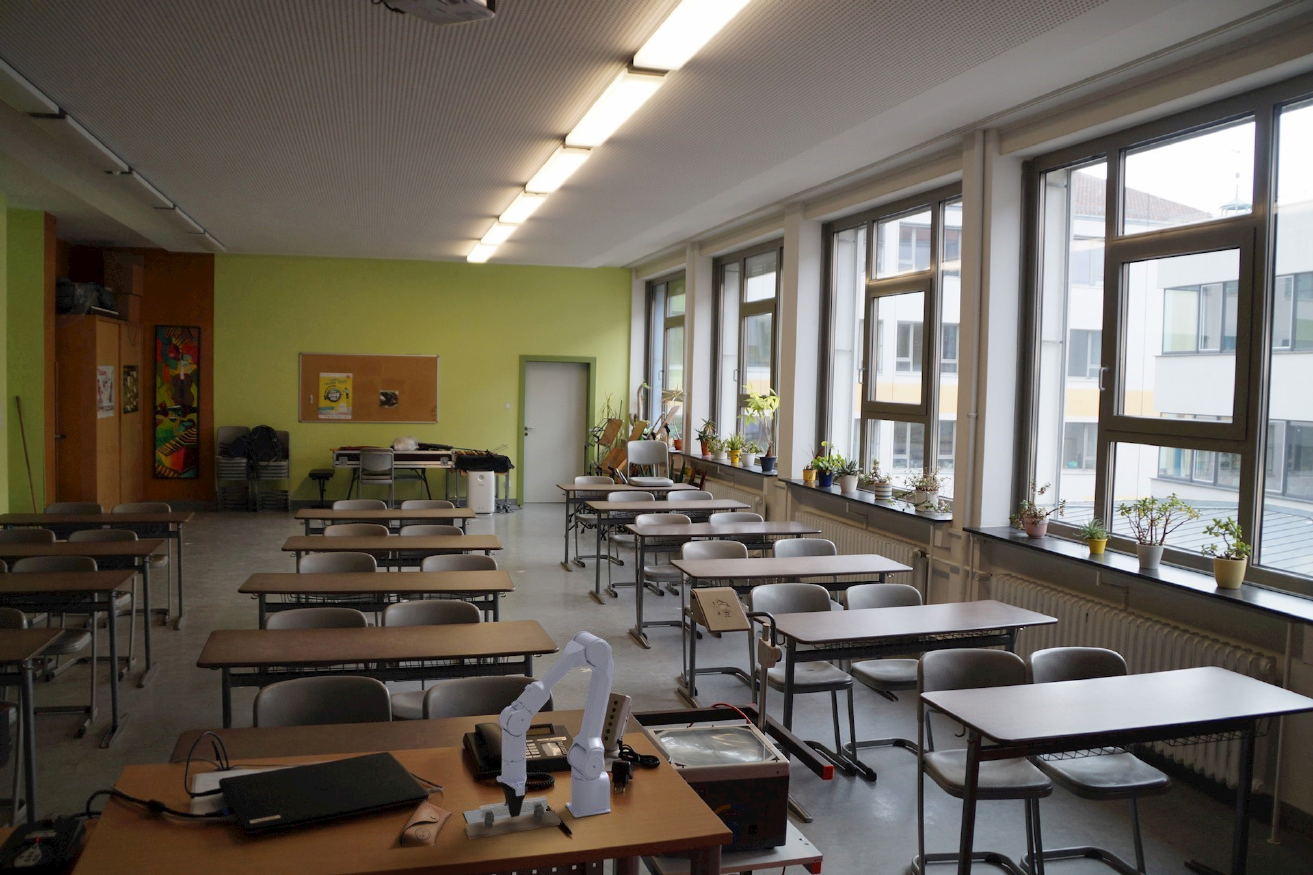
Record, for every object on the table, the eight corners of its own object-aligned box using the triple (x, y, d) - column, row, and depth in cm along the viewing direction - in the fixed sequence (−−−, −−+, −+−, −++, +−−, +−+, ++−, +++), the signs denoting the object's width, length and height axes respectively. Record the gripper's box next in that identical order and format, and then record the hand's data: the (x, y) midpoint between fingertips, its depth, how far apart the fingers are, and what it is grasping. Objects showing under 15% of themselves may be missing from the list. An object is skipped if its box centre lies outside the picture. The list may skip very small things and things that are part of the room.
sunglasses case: (435, 846, 206) (420, 821, 206) (409, 861, 206) (394, 836, 206) (454, 811, 224) (440, 788, 224) (429, 825, 224) (416, 802, 224)
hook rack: (554, 814, 223) (554, 796, 223) (560, 824, 217) (561, 806, 217) (465, 828, 215) (465, 809, 215) (469, 839, 209) (469, 820, 209)
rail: (544, 804, 220) (544, 795, 220) (547, 808, 218) (547, 799, 218) (479, 815, 214) (479, 805, 214) (481, 819, 212) (481, 809, 212)
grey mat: (542, 801, 230) (542, 799, 230) (549, 812, 224) (549, 811, 224) (463, 812, 223) (463, 811, 223) (468, 825, 217) (468, 823, 217)
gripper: (491, 749, 221) (491, 803, 221) (503, 771, 207) (503, 829, 208) (519, 745, 223) (519, 799, 224) (533, 767, 210) (533, 824, 210)
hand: (513, 813), depth 216 cm, fingers closed on rail, 2 cm apart
